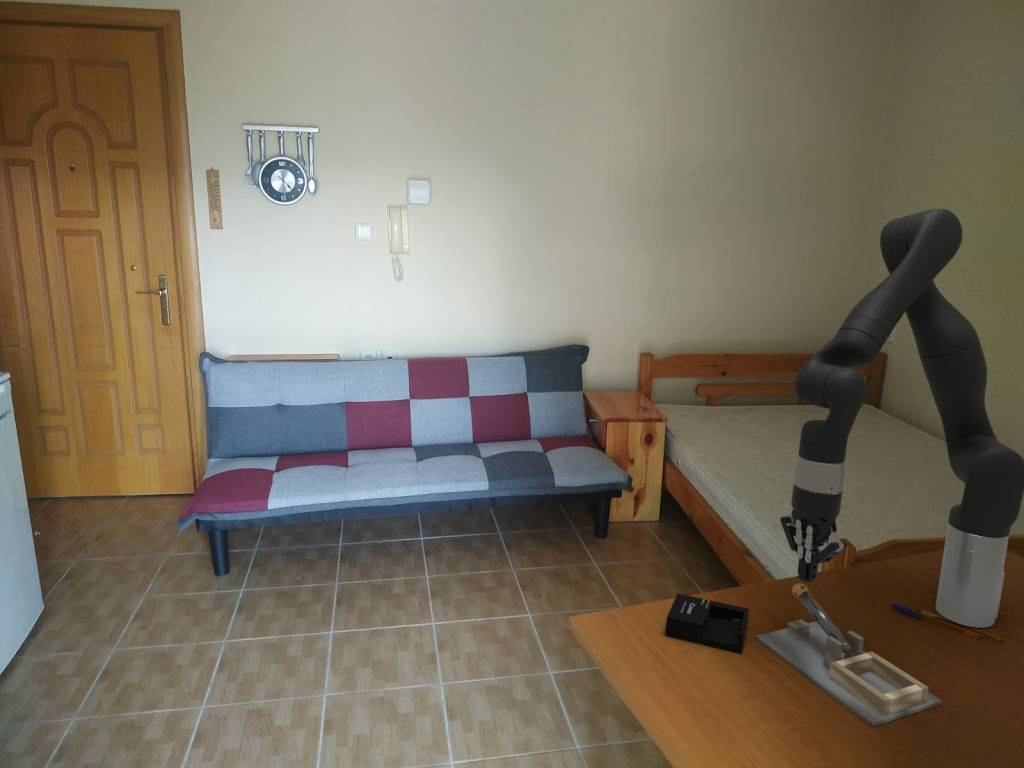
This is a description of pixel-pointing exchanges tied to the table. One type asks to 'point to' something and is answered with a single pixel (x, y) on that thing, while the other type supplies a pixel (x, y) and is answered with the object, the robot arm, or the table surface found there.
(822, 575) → the table surface
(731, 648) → the battery charger
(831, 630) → the metal lever
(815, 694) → the table surface
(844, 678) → the grey mounting base
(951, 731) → the table surface
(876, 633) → the table surface
